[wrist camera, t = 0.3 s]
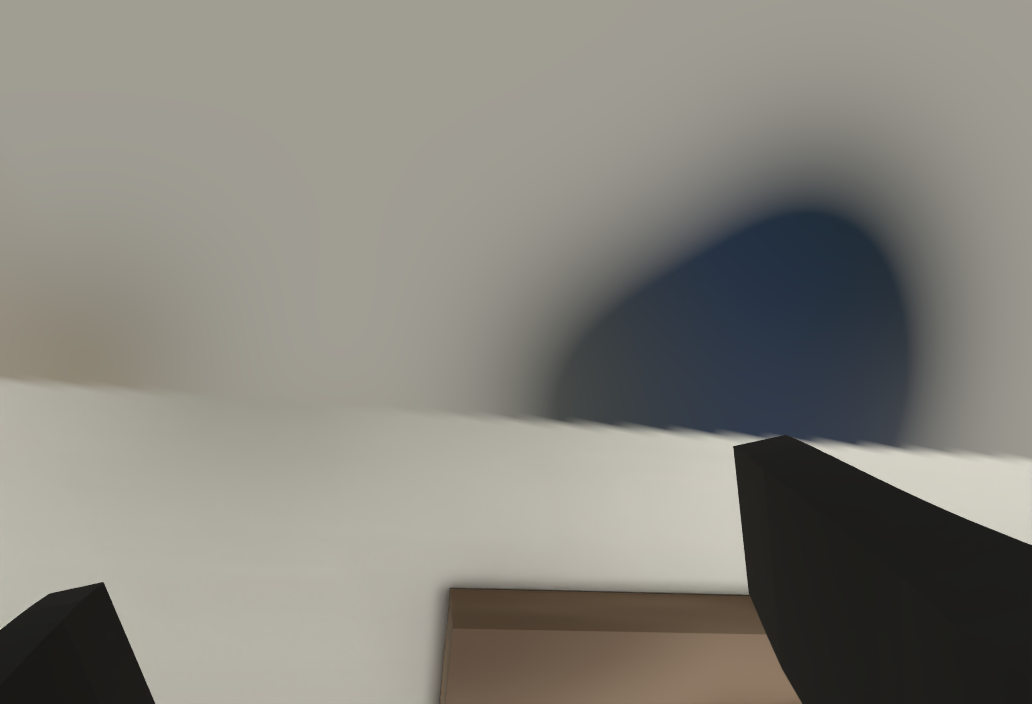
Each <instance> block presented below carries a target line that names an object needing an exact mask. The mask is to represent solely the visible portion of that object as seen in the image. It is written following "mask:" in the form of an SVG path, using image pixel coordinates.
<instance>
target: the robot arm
mask: <svg viewBox="0 0 1032 704" xmlns="http://www.w3.org/2000/svg"><path fill="white" fill-rule="evenodd" d="M733 448H734V457H735V467H736V476H737V486H738V495H739V504H740V514H741V523H742V533H743V542H744V552H745V561H746V571H747V580H748V589H749V595H750V597H751V600H752V602H753V604H754V607H755V609H756V611H757V614H758V616H759V618H760V621H761V623H762V625H763V628H764V630H765V632H766V635H767V637H768V639H769V641H770V644H771V646H772V648H773V650H774V653H775V655H776V657H777V659H778V661H779V664H780V666H781V668H782V670H783V672H784V673H785V675H786V677H787V679H788V680H789V682H790V684H791V686H792V687H793V689H794V691H795V692H796V694H797V696H798V697H799V699H800V701H801V702H802V704H1032V545H1030V544H1027V543H1025V542H1022V541H1019V540H1017V539H1014V538H1012V537H1010V536H1007V535H1005V534H1002V533H1000V532H997V531H995V530H992V529H990V528H987V527H985V526H982V525H980V524H977V523H975V522H972V521H970V520H967V519H965V518H963V517H960V516H958V515H956V514H953V513H951V512H949V511H946V510H944V509H942V508H940V507H937V506H935V505H933V504H931V503H928V502H926V501H924V500H922V499H920V498H917V497H915V496H913V495H911V494H909V493H907V492H905V491H902V490H900V489H898V488H896V487H894V486H892V485H890V484H888V483H886V482H884V481H882V480H879V479H877V478H875V477H873V476H871V475H869V474H867V473H865V472H863V471H861V470H859V469H857V468H855V467H853V466H851V465H849V464H847V463H845V462H843V461H841V460H839V459H837V458H835V457H833V456H831V455H828V454H826V453H824V452H822V451H820V450H818V449H816V448H814V447H812V446H810V445H808V444H806V443H803V442H801V441H799V440H797V439H794V438H792V437H789V436H787V435H784V436H779V437H774V438H770V439H765V440H760V441H756V442H751V443H746V444H742V445H737V446H733ZM0 704H155V702H154V700H153V697H152V695H151V693H150V690H149V688H148V686H147V683H146V681H145V679H144V676H143V674H142V672H141V669H140V667H139V664H138V662H137V660H136V657H135V655H134V653H133V650H132V648H131V646H130V643H129V641H128V639H127V636H126V634H125V632H124V629H123V627H122V625H121V622H120V620H119V618H118V615H117V613H116V611H115V608H114V606H113V603H112V601H111V599H110V596H109V594H108V592H107V589H106V587H105V585H104V582H101V583H97V584H92V585H88V586H83V587H78V588H74V589H69V590H64V591H60V592H55V593H50V594H48V595H47V596H45V597H44V598H42V599H41V600H39V601H38V602H36V603H35V604H33V605H32V606H31V607H29V608H28V609H27V610H25V611H24V612H23V613H21V614H20V615H19V616H17V617H16V618H15V619H14V620H12V621H11V622H10V623H8V624H7V625H6V626H5V627H4V628H2V629H1V630H0Z"/></svg>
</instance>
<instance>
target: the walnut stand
mask: <svg viewBox="0 0 1032 704" xmlns="http://www.w3.org/2000/svg"><path fill="white" fill-rule="evenodd" d="M440 704H802V702H801V701H800V699H799V697H798V696H797V694H796V692H795V691H794V689H793V687H792V686H791V684H790V682H789V680H788V679H787V677H786V675H785V673H784V672H783V670H782V668H781V666H780V664H779V661H778V659H777V657H776V655H775V653H774V650H773V648H772V646H771V644H770V641H769V639H768V637H767V635H766V632H765V630H764V628H763V625H762V623H761V621H760V618H759V616H758V614H757V611H756V609H755V607H754V604H753V602H752V600H751V597H750V596H736V595H695V594H655V593H614V592H574V591H533V590H493V589H452V588H450V598H449V609H448V619H447V630H446V641H445V651H444V662H443V672H442V683H441V694H440Z"/></svg>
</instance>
